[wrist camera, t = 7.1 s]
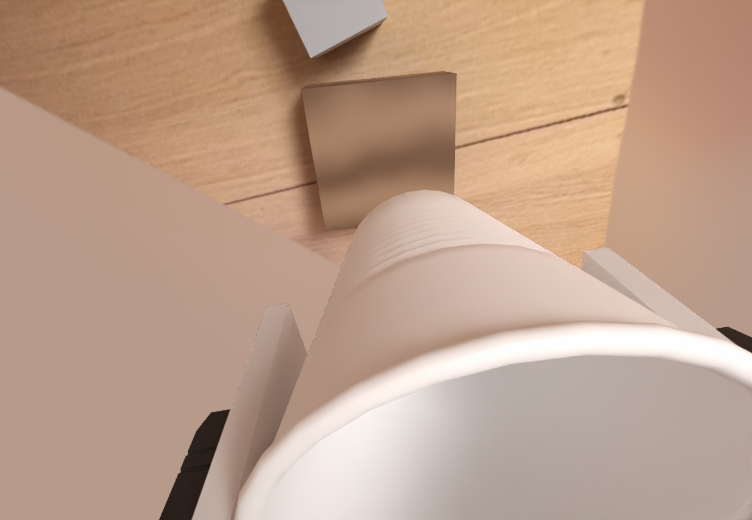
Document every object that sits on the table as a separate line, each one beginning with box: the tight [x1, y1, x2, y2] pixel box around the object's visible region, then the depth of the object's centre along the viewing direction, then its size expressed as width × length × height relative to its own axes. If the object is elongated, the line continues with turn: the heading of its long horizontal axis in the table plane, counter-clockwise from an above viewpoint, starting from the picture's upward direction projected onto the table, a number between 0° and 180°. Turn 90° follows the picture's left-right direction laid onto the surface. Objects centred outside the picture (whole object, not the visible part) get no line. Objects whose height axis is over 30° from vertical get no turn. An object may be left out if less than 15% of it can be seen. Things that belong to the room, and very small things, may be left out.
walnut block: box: [301, 71, 457, 231], centre depth 33 cm, size 12×12×5 cm
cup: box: [234, 190, 752, 520], centre depth 11 cm, size 10×10×11 cm
